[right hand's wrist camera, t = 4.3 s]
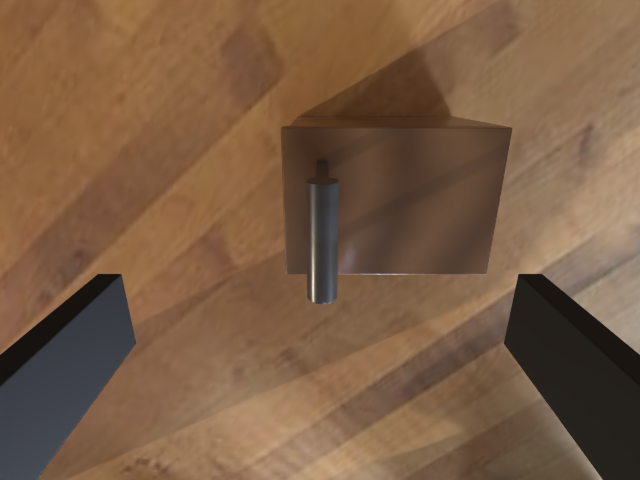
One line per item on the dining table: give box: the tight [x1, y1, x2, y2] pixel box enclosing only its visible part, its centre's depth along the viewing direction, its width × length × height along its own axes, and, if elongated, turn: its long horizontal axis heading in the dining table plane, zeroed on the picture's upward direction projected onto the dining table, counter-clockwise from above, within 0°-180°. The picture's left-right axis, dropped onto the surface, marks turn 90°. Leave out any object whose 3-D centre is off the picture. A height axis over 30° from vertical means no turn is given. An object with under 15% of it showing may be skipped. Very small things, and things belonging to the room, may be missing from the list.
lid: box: [281, 126, 512, 304], centre depth 21 cm, size 14×10×8 cm
